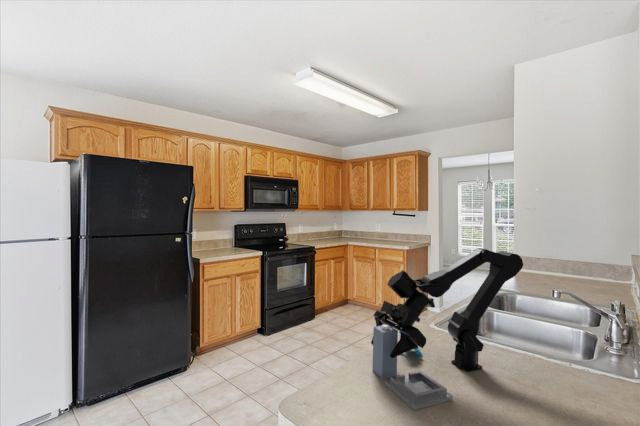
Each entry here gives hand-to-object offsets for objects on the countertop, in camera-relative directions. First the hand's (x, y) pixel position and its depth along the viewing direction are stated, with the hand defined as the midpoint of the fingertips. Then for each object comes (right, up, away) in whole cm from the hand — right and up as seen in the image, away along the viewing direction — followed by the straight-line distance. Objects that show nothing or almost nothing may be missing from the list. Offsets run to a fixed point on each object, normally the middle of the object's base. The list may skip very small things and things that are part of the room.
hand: (381, 350), depth 92 cm
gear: (+12, -7, +14) cm, 20 cm away
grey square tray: (+8, -7, -9) cm, 14 cm away
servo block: (+1, -7, 0) cm, 7 cm away
